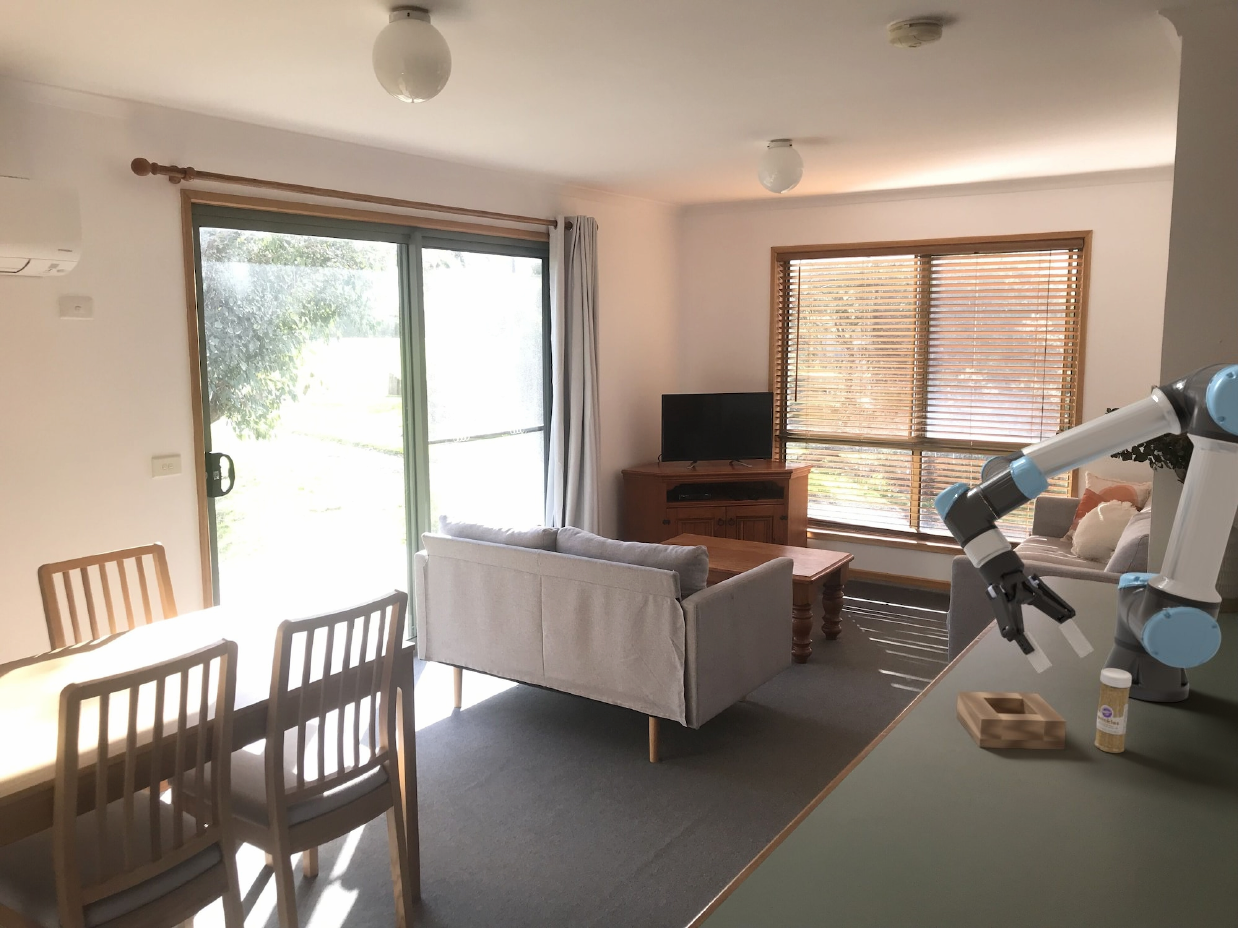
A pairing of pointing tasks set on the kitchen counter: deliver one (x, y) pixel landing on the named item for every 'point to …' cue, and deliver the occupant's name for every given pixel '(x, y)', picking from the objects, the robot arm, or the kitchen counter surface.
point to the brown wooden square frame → (1010, 720)
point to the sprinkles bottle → (1112, 710)
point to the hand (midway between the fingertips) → (1067, 661)
